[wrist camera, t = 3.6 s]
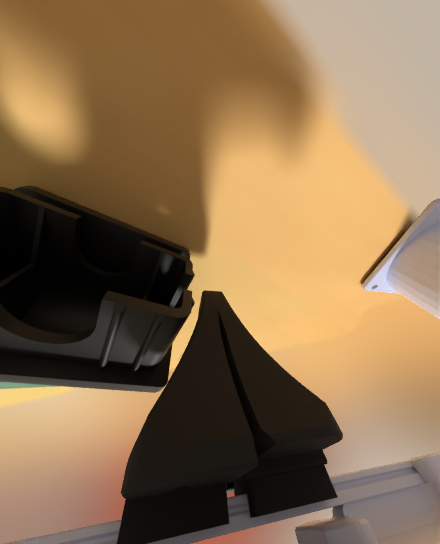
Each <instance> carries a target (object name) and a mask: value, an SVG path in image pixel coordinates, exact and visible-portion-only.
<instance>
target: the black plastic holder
mask: <svg viewBox="0 0 440 544" xmlns="http://www.w3.org/2000/svg"><path fill="white" fill-rule="evenodd" d="M192 269H193V265H192V262H191V261H190V253H189V251H188V250H187V249H186V248H184V247H181V246H179V245H176V244H174V243H171V242H169V241H166V240H164V239H162V238H159V237H157V236H154V235H152V234H149V233H147V232H144V231H142V230H140V229H137V228H135V227H132V226H130V225H127V224H125V223H122V222H120V221H117V220H115V219H113V218H110V217H108V216H105V215H103V214H100V213H98V212H95V211H93V210H91V209H88V208H86V207H83V206H81V205H78V204H76V203H73V202H71V201H68V200H66V199H64V198H61V197H59V196H56V195H54V194H51V193H49V192H46V191H44V190H42V189H39V188H37V187H32V186H24V187H19V188H17V189H14V190H11V189H8V188H4V187H0V382H9V383H24V384H38V385H52V386H67V387H82V388H96V389H110V390H125V391H139V392H153V393H154V392H158V391H160V390H161V389H162V388H163V387H164V386H165V385H166V384H167V381H168V375H169V366H170V358H171V350H172V342H173V341H174V339H175V338H176V336H177V334H178V333H179V331H180V329H181V328H182V326H183V324H184V323H185V321H186V319H187V318H188V316H189V314H190V313H191V309H192V307H193V306H194V300H193V298H192V291H189V290H187V288H188V287H189V285H190V283H191V281H192V279H193V277H194V276H195V275H194V272H193V270H192Z"/></svg>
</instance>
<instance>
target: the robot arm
mask: <svg viewBox="0 0 440 544" xmlns="http://www.w3.org/2000/svg"><path fill="white" fill-rule="evenodd" d="M362 288H363V289H364V290H367V291H378V292H388V293H398V294H401V295H403V296H404V297H406V298H407V299H409V300H410V301H412V302H414V303H415V304H417V305H418V306H420V307H422V308H423V309H424V310H426V311H427V312H429V313H431V314H432V315H434V316H435V317H437V318H438V319H440V199H436V200H434V201H433V202H431V203H430V204H429V205H428V206H427V208H426V209H425V210H424V211H423V212H422V214H421V215H420V216H419V217H418V218H417V219H416V221H415V222H414V223H413V224H412V225H411V227H410V228H409V229H408V230H407V231H406V233H405V234H404V235H403V236H402V237H401V239H400V240H399V241H398V242H397V243H396V245H395V246H394V247H393V248H392V249H391V251H390V252H389V253H388V254H387V255H386V257H385V258H384V259H383V260H382V261H381V263H380V264H379V265H378V266H377V267H376V268H375V270H374V271H373V272H372V273H371V274H370V276H369V277H368V278H367V279H366V280H365V282H364V283H363V284H362ZM342 437H343V434H342V432H341V430H340V428H339V426H338V424H337V422H336V420H335V419H334V417H333V415H332V413H331V411H330V410H329V408H328V406H327V405H326V403H325V402H323V401H322V400H321V399H320V398H318V397H317V396H316V395H314V394H313V393H312V392H311V391H309V390H308V389H307V388H306V387H304V386H303V385H302V384H301V383H299V382H298V381H297V380H296V379H295V378H294V377H292V376H291V375H290V374H289V373H288V372H287V371H285V370H284V369H283V368H282V367H281V366H280V365H279V364H278V363H277V362H276V361H275V360H274V359H273V358H272V357H271V356H270V355H269V354H268V353H267V352H266V351H265V350H264V349H263V348H262V347H261V346H260V345H259V344H258V343H257V341H256V340H255V339H254V338H253V337H252V335H251V334H250V333H249V332H248V330H247V329H246V328H245V327H244V325H243V324H242V323H241V321H240V320H239V318H238V317H237V315H236V314H235V312H234V311H233V309H232V308H231V306H230V305H229V303H228V301H227V300H226V298H225V296H224V295H223V293H222V292H218V291H203V292H202V297H201V302H200V308H199V315H198V320H197V323H196V326H195V329H194V331H193V334H192V336H191V338H190V341H189V343H188V345H187V347H186V349H185V351H184V353H183V355H182V358H181V359H180V361H179V363H178V365H177V367H176V369H175V371H174V372H173V374H172V376H171V378H170V380H169V381H168V383H167V385H166V387H165V388H164V390H163V392H162V393H161V395H160V397H159V398H158V400H157V402H156V403H155V405H154V407H153V408H152V410H151V411H150V413H149V415H148V417H147V419H146V421H145V423H144V426H143V428H142V430H141V432H140V434H139V436H138V438H137V440H136V442H135V445H134V447H133V449H132V451H131V454H130V457H129V459H128V463H127V466H126V471H125V476H124V480H123V485H122V490H121V494H122V496H123V497H124V498H125V499H126V500H125V505H124V510H123V515H122V520H117V521H113V522H108V523H103V524H98V525H93V526H88V527H84V528H79V529H74V530H69V531H64V532H59V533H54V534H50V535H45V536H40V537H35V538H30V539H25V540H21V541H15V542H11V543H6V544H190V543H194V542H198V541H201V540H205V539H209V538H213V537H217V536H221V535H225V534H229V533H233V532H236V531H240V530H245V529H248V528H252V527H256V526H260V525H264V524H268V523H271V522H276V521H280V520H284V519H288V518H292V517H296V516H299V515H303V514H307V513H311V512H315V511H319V510H322V509H327V508H331V507H333V517H332V519H324V520H316V521H311V522H308V523H305V524H303V525H300V526H298V527H296V530H295V532H296V536H297V540H298V543H299V544H440V452H437V453H433V454H428V455H423V456H420V457H416V458H412V459H411V460H409V461H404V462H399V463H395V464H389V465H384V466H380V467H375V468H370V469H365V470H360V471H355V472H351V473H346V474H341V475H336V476H331V477H329V475H328V473H327V471H326V468H325V466H324V464H327V459H326V457H325V455H324V453H323V449H325V448H327V447H329V446H331V445H333V444H335V443H337V442H339V441H340V440H341V439H342ZM231 492H234V494H235V496H234V497H230V498H227V493H231Z"/></svg>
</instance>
